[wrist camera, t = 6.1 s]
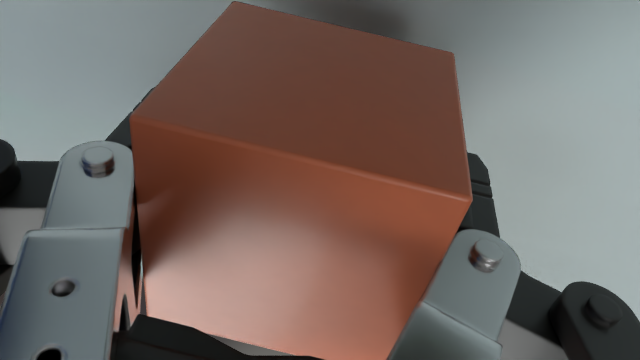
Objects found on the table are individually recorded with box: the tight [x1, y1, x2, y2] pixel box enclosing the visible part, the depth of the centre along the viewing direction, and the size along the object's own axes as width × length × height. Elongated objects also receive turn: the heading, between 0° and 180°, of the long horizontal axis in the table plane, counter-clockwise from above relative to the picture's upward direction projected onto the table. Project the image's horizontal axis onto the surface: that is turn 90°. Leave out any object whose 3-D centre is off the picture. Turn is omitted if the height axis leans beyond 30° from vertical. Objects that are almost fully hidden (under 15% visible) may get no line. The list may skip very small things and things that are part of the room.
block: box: [129, 1, 473, 360], centre depth 11 cm, size 5×5×5 cm
